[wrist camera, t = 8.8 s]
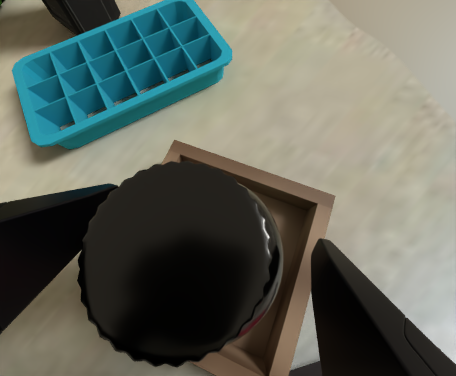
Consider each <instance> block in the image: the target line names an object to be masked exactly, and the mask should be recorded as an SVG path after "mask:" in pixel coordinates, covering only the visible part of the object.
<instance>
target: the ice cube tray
mask: <svg viewBox="0 0 456 376" xmlns="http://www.w3.org/2000/svg"><path fill="white" fill-rule="evenodd" d="M209 59H211V60H212V61H213V62H211V63H209V64H206V65H204V66H202V67H200V68H197V66H196V65H198V64H201V63H203V62H205V61H207V60H209ZM231 60H232V49H231V48H230V47H229V45H228V44H227V43H226V41H225V40H224V39H223V38H222V36H221V35H220V34H219V32H218V31H217V30H216V28H215V27H214V26H213V25H212V23H211V22H210V21H209V19H208V18H207V17H206V15H205V14H204V13H203V12H202V10H201V9H200V8H199V6H198V5H197V4H196V2H195V1H194V0H164V1H162V2H159V3H157V4H154V5H152V6H149V7H147V8H144V9H142V10H139V11H137V12H134V13H132V14H129V15H127V16H125V17H122V18H120V19H117V20H115V21H112V22H110V23H107V24H105V25H102V26H100V27H97V28H95V29H92V30H90V31H88V32H85V33H83V34H80V35H78V36H75V37H73V38H70V39H68V40H65V41H63V42H60V43H58V44H55V45H53V46H51V47H48V48H46V49H43V50H41V51H38V52H36V53H33V54H31V55H28V56H26V57H23V58H22V59H20V60H19V61H18V62H16V63H15V65H14V67H13V69H12V73H13V76H14V80H15V84H16V87H17V91H18V94H19V98H20V102H21V105H22V109H23V113H24V116H25V120H26V124H27V127H28V131H29V134H30V138H31V141H32V142H34V143H35V144H37V145H38V146H40V147H47V146H53V145H55V144H59V145H61V146H63V147H65V148H67V149H74V148H79V147H81V146H83V145H85V144H87V143H90V142H92V141H94V140H96V139H98V138H100V137H102V136H105V135H107V134H109V133H111V132H113V131H115V130H117V129H119V128H122V127H124V126H126V125H128V124H130V123H132V122H134V121H136V120H139V119H141V118H143V117H145V116H147V115H149V114H151V113H154V112H156V111H158V110H160V109H162V108H164V107H166V106H168V105H171V104H173V103H175V102H177V101H179V100H181V99H183V98H186V97H188V96H190V95H192V94H194V93H196V92H198V91H200V90H203V89H205V88H207V87H209V86H211V85H213V84H215V83H218V82H219V81H220V80H221V79H222V77H223V70H224V66H227V65H228V64H229V63H230V61H231ZM187 69H188V71H189V73H187V74H184V75H182V76H180V77H178V78H176V79H173V80H171V81H169V80H168V78H170V77H172V76H174V75H176V74H178V73H181V72H183V71H185V70H187ZM161 81H164V83H165V84H162V85H160V86H158V87H156V88H154V89H151V90H149V91H147V92H145V93H143V94H141V93H140V91H141V90H143V89H145V88H147V87H150V86H152V85H154V84H156V83H158V82H161ZM134 93H137V95H138V96H136V97H134V98H132V99H129V100H127V101H125V102H123V103H121V104H118V105H116V106H115V105H114V102H116V101H119V100H121V99H123V98H125V97H128V96H130V95H132V94H134ZM105 106H106V108H107V110H105V111H103V112H101V113H99V114H96V115H94V116H92V117H90V118H88V116H87V115H88V114H90V113H92V112H94V111H97V110H99V109H101V108H103V107H105ZM72 121H75V125H72V126H70V127H68V128H66V129H64V130H61V129H60V127H61V126H63V125H66V124H68V123H70V122H72Z"/></svg>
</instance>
